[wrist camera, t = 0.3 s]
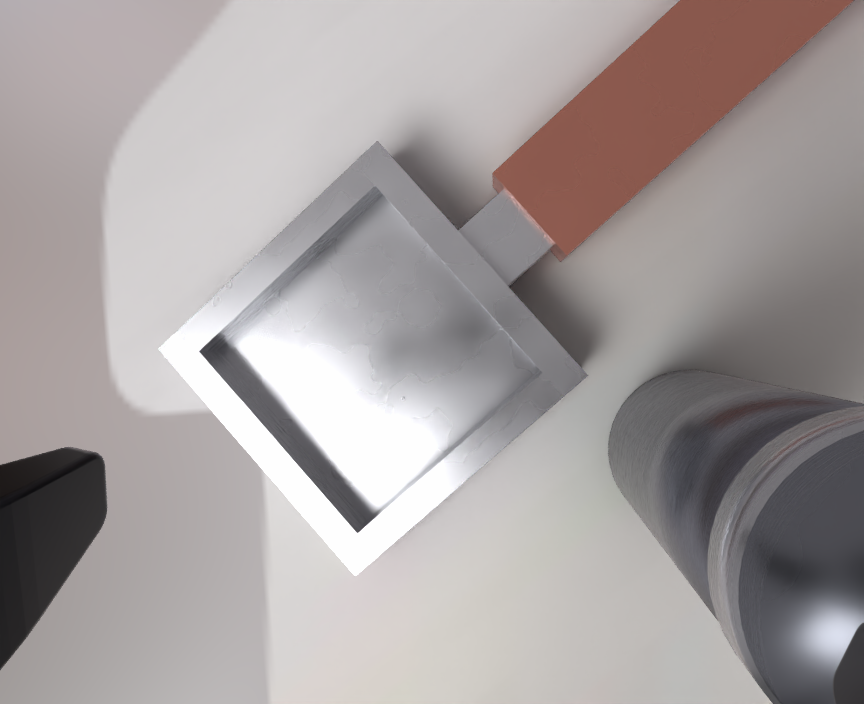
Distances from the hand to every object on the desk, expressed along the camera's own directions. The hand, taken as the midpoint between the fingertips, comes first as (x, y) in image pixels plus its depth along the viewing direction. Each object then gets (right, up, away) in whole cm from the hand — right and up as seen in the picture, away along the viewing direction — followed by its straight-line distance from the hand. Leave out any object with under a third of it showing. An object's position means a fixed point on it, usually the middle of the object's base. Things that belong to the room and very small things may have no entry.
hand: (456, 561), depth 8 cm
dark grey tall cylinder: (+8, -1, +14) cm, 17 cm away
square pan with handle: (+4, +8, +15) cm, 17 cm away
